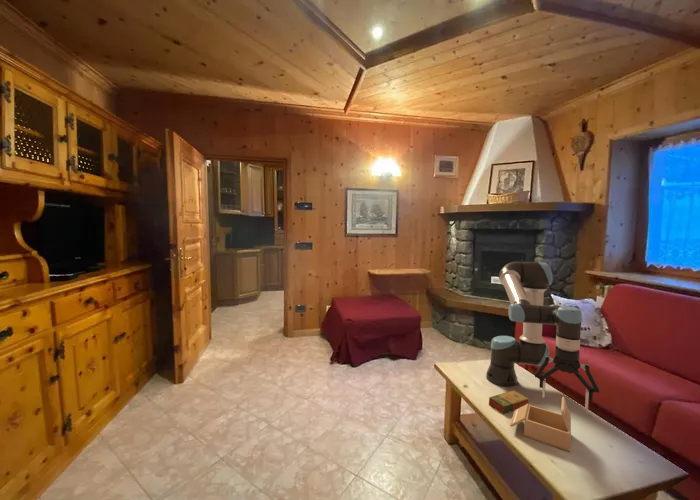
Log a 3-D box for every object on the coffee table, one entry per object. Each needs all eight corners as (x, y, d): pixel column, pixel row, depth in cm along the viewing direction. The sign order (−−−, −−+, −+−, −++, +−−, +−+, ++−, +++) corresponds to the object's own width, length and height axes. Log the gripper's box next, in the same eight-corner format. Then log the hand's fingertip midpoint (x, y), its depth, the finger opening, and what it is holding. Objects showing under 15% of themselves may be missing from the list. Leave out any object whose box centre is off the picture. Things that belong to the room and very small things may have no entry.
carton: (528, 407, 143) (528, 398, 143) (503, 415, 137) (504, 406, 137) (512, 397, 151) (513, 389, 151) (488, 405, 145) (488, 396, 144)
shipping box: (514, 415, 136) (515, 399, 135) (569, 433, 125) (570, 415, 124) (509, 431, 125) (510, 413, 125) (569, 452, 114) (570, 432, 113)
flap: (568, 414, 124) (561, 397, 125) (570, 414, 124) (564, 397, 125) (567, 431, 114) (561, 412, 115) (570, 431, 114) (563, 412, 114)
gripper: (528, 343, 122) (526, 395, 124) (611, 359, 108) (607, 418, 109) (530, 338, 128) (528, 387, 130) (608, 352, 114) (605, 408, 115)
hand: (564, 401), depth 119 cm, fingers open, 13 cm apart
